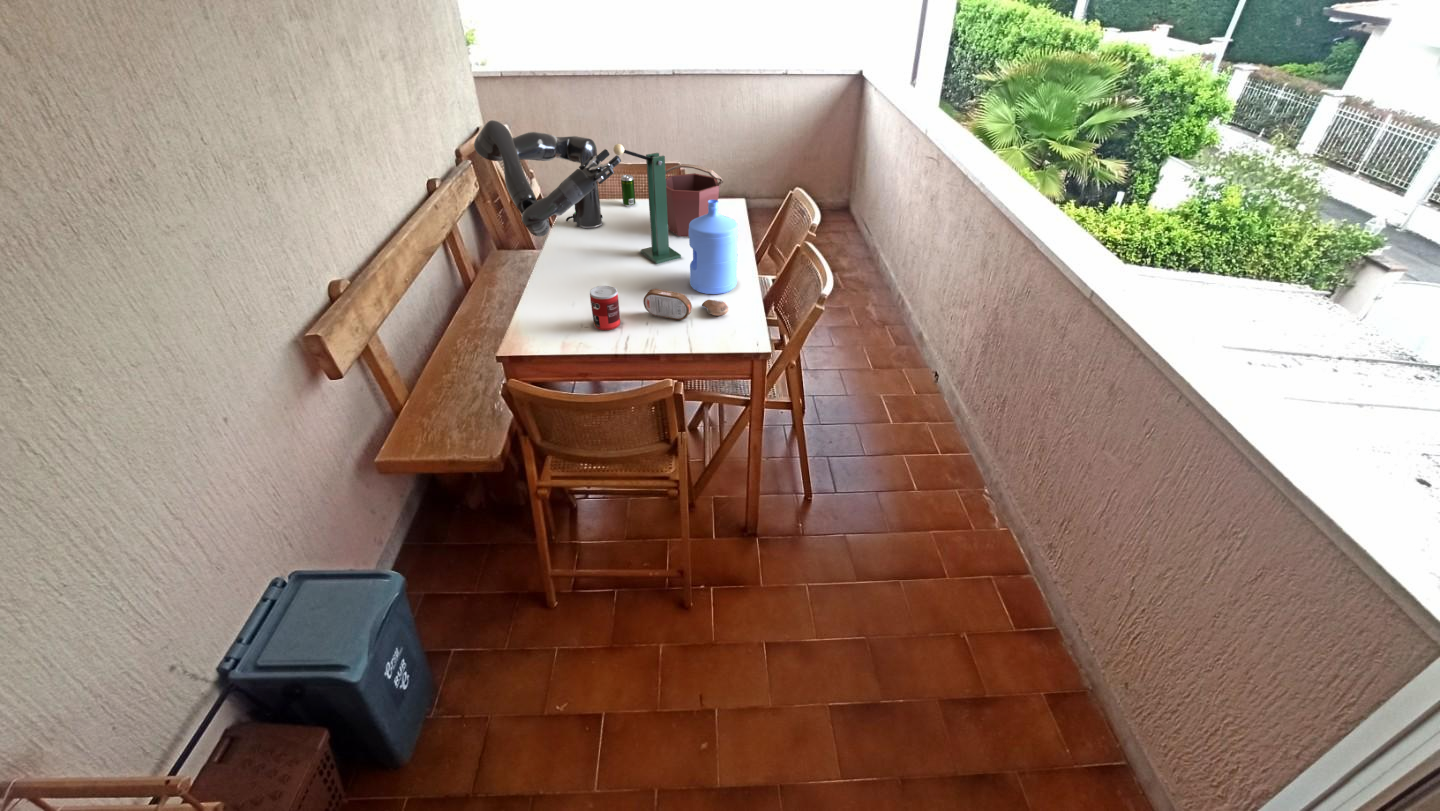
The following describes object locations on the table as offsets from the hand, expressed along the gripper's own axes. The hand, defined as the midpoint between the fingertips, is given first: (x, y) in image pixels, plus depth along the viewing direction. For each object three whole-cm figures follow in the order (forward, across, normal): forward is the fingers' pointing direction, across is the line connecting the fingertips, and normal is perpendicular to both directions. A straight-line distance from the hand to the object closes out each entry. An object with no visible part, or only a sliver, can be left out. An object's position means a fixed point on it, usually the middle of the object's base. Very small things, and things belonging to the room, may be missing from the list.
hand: (613, 154), depth 204 cm
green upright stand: (-6, 0, +40) cm, 41 cm away
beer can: (+7, +55, +48) cm, 73 cm away
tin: (-24, -42, +30) cm, 56 cm away
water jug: (-3, -30, +42) cm, 52 cm away
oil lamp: (-12, -47, +37) cm, 61 cm away
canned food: (-39, -36, +22) cm, 57 cm away
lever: (+5, 0, +6) cm, 8 cm away
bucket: (+13, +16, +51) cm, 55 cm away
